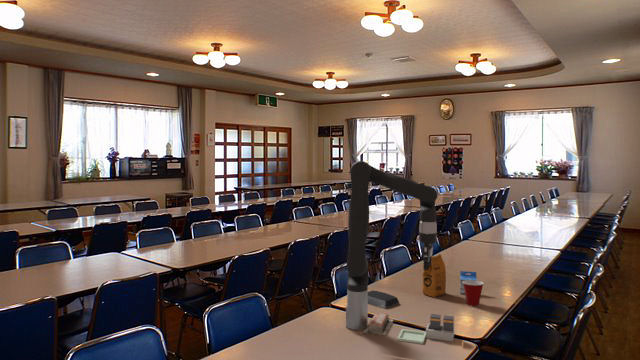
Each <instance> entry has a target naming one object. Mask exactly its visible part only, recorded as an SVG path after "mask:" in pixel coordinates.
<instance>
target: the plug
mask: <svg viewBox="0 0 640 360" xmlns="http://www.w3.org/2000/svg"><path fill="white" fill-rule="evenodd" d="M429 320H430V321H429V323H430V329H432V330H440V331H441V325H442V323H441V322H442V315H441V314H438V313H431V314H430V319H429Z"/></svg>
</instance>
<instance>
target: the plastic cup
mask: <svg viewBox="0 0 640 360" xmlns="http://www.w3.org/2000/svg"><path fill="white" fill-rule="evenodd" d="M462 283H463V285H464V289H465V294H464V295H465V298H466V304H467V305H468V306H470V305H472V306H471V307H478V306H479V304H480V300H481V296H482V291H483V286H484V285H485V283H484V282H483V281H479V280H477V281H472V280H466V281H462ZM477 305H478V306H477Z"/></svg>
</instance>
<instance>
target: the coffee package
mask: <svg viewBox="0 0 640 360" xmlns="http://www.w3.org/2000/svg"><path fill="white" fill-rule="evenodd" d="M446 272H447V271H446V264H445V262H444V259H443V257H442V255H441V253H438V254H437V255H436V256H433V255H432V257H431V266H429V270H424V269H423V272H422V290H421V291H422V294H423V295H425V296H427V295H428V297H430V296H431V297H430V298H437V296H439V297H442V296H443V295H445V294H446V291H447V289H446V287H447V284H446V283H447V275H446V274H447V273H446ZM441 295H442V296H441Z"/></svg>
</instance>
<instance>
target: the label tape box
mask: <svg viewBox="0 0 640 360" xmlns="http://www.w3.org/2000/svg"><path fill="white" fill-rule="evenodd" d="M459 272H460V275H459V294H460V293H461V294H460V295H465V289H464V285H463V283H462V281H466V280H472V281H478V278H477V272H476V271H464V270H460V271H459Z"/></svg>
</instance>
